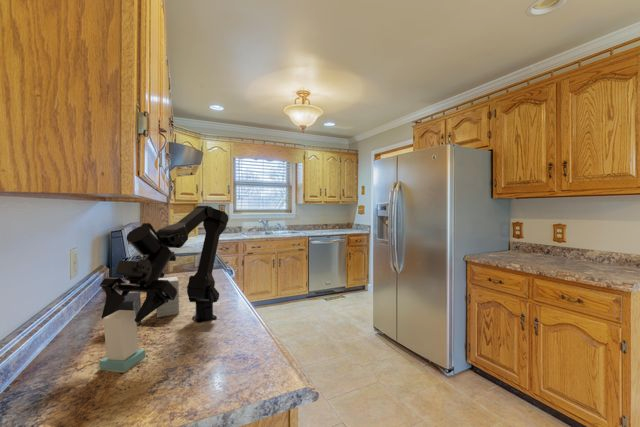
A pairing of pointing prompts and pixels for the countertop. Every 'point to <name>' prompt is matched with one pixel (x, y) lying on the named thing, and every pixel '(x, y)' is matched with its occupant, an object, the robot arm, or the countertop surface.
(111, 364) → the teal square slab
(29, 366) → the countertop surface
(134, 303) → the small box
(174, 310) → the supplement box
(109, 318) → the cream column
